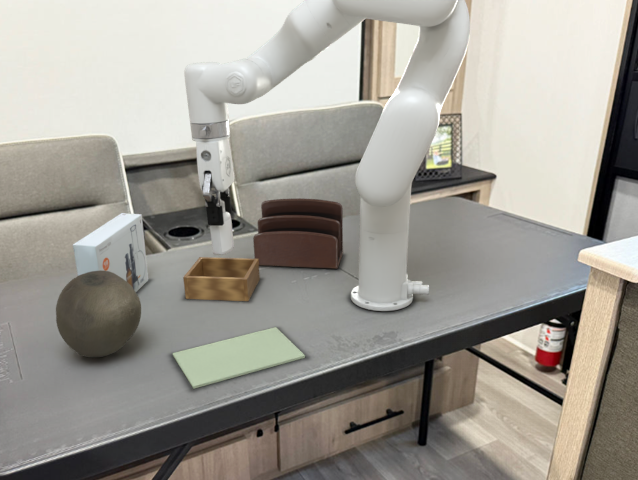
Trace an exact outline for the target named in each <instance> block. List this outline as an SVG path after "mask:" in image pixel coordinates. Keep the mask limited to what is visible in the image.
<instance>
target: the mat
mask: <svg viewBox="0 0 638 480" xmlns="http://www.w3.org/2000/svg"><path fill="white" fill-rule="evenodd" d="M172 357H173V358H174V360H175V362H176V363H177V365H178V366H179V368H180V369H181V371H182V373H183V374H184V377H186V379H187V381H188V383H189V384H190V386H191V387H192V389H194V390H195V389H198V388H201V387H205V386H209V385H213V384H216V383H221V382H224V381H227V380H230V379H234V378H237V377H241V376H244V375H248V374H252V373H256V372H260V371H263V370H266V369H270V368H273V367H274V368H275V367H277V366H280V365H285V364H288V363H291V362H295V361H299V360H302V359H305V358H306V355H305V354H304V353H303V352H302V351H301V350H300V348H299V347H297V346H296V345H295V344H294V343H293V342H292V341H291V340H290V339H289V338H288V337H287V336H286V335H285V334H284V333H282V331H280V329H279V328H277V327H276V326H275V327H270V328H266V329H263V330H258V331H255V332H250V333H247V334H243V335H239V336H235V337H231V338H227V339H222V340H219V341H214V342H211V343H206V344H203V345H200V346H196V347H191V348H187V349H183V350H179V351H175V352H172Z"/></svg>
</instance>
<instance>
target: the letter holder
mask: <svg viewBox="0 0 638 480" xmlns="http://www.w3.org/2000/svg"><path fill="white" fill-rule="evenodd" d="M260 207H261V208H260V209H261V217H260V218H259V219H257V233H256V234H254V236H253V237H252V238H253V239H252V240H253V242H252V243H253V256H254V258H253V259H259V267H280V268H281V267H283V268H284V267H285V268H307V269H327V270H338V268H339V265H340V263H341V260H342V257H343V253H344V250H343V249H344V247H343V245H344V241H343V240H344V239H343V238H344V237H343V236H344V232H343V230H344V229H343V227H344V226H343V225H344V224H343V223H344V222H343V220H344V219H343V218H344V215H343V214H344V213H343V212H344V211H343V210H344V209H343V205H342V204H341V203H340V202H338V201H333V200H327V199H326V200H325V199H319V198H318V199H317V198H277V199H270V200H264V201H262V202H261V205H260Z"/></svg>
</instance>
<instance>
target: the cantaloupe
mask: <svg viewBox="0 0 638 480" xmlns="http://www.w3.org/2000/svg"><path fill="white" fill-rule="evenodd" d="M139 297H140V296H139V295H138V294H137V292H135V291H134V289H133V287H132V286H131V285H130V284H129V283H128V282H127V281H125V280H124V279H123V278H121V277H119V276H118V275H116V274H115V273H112V272H109V271H101V270H100V271H91V272H87V273H84V274H81V275H79V276H78V275H77V276H75V277H74V278H72V279H71V280H70V281H68V283H67V284H66V285H65V286H64V287H63V288H62V290H61V292H60V293H59V296H58V297H57V301H56V305H55V322H56V327H57V330H58V333H59V335H60V336H61V338H62V340H63V341H64V343H65V344H66V345H67V346H68V347H69V348H70V349H72V351H74V352H75V353H76V354H78V355H80V356H83V357H86V358H102V357H107V356H110V355H111V354H114V353H116V352H117V351H119V350H120V349H122V348H123V347H124V346H125V345H126V344H127V342H128V341H129V340H130V339H131V338H132V337H133V336H134V335H135V333H136V331H137V329H138V328H139V325H140V322H141V318H142V303H141V299H140V298H139Z"/></svg>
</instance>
